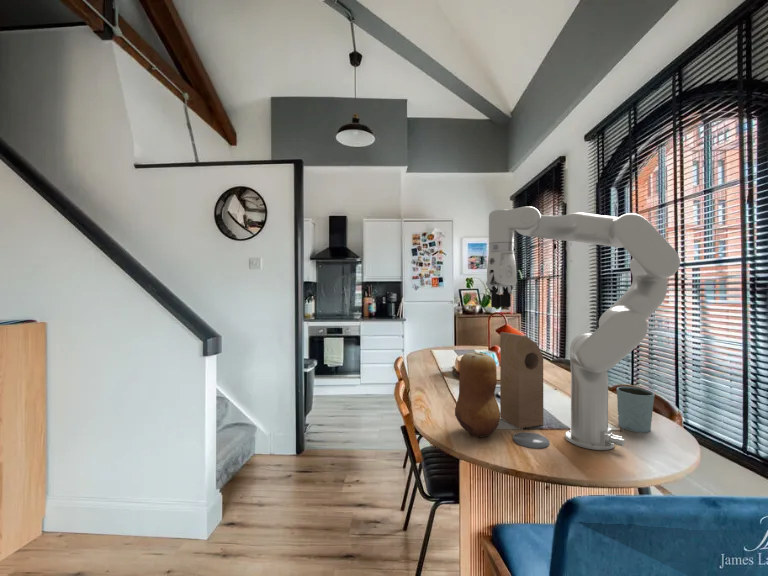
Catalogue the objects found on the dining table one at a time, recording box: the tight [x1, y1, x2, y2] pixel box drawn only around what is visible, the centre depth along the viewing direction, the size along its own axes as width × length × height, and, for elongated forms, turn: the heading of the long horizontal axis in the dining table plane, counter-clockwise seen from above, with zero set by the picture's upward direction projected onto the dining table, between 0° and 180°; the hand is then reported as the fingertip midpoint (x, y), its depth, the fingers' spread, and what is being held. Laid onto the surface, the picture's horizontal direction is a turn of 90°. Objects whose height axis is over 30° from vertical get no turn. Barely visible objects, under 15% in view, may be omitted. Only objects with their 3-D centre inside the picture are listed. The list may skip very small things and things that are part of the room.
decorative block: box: [499, 331, 544, 429], centre depth 122 cm, size 10×10×30 cm
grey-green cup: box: [616, 386, 656, 433], centre depth 117 cm, size 10×10×12 cm
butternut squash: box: [454, 352, 501, 438], centre depth 112 cm, size 14×13×25 cm
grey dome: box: [512, 431, 551, 449], centre depth 107 cm, size 10×10×1 cm
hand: (501, 306), depth 115 cm, fingers open, 4 cm apart
